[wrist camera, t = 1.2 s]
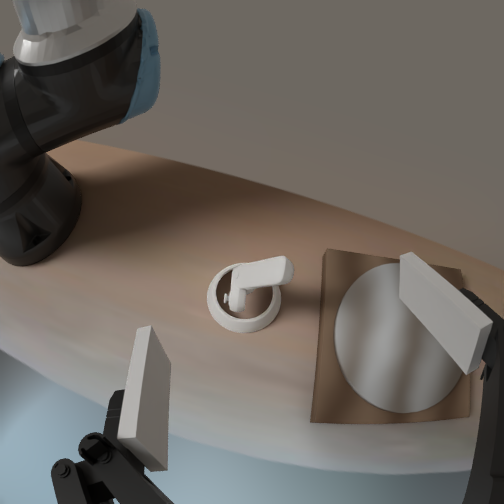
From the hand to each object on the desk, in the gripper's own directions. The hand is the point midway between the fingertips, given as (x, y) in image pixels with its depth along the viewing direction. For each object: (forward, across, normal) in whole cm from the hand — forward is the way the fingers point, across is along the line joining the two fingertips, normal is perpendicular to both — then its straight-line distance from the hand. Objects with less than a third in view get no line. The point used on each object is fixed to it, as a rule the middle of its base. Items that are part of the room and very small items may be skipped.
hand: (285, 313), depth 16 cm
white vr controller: (+16, -2, -9) cm, 18 cm away
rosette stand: (+9, +12, -16) cm, 22 cm away
